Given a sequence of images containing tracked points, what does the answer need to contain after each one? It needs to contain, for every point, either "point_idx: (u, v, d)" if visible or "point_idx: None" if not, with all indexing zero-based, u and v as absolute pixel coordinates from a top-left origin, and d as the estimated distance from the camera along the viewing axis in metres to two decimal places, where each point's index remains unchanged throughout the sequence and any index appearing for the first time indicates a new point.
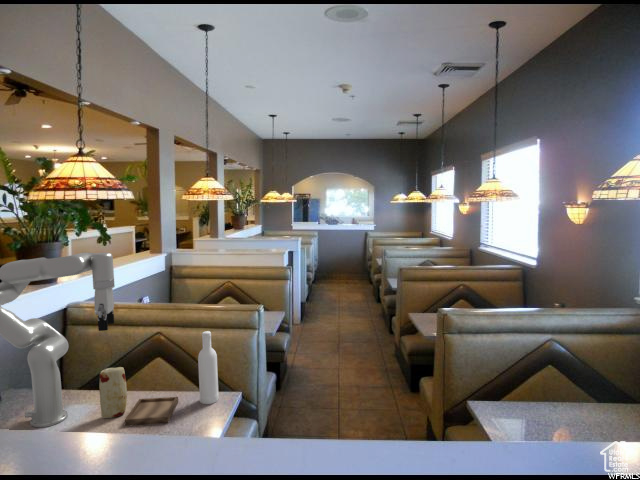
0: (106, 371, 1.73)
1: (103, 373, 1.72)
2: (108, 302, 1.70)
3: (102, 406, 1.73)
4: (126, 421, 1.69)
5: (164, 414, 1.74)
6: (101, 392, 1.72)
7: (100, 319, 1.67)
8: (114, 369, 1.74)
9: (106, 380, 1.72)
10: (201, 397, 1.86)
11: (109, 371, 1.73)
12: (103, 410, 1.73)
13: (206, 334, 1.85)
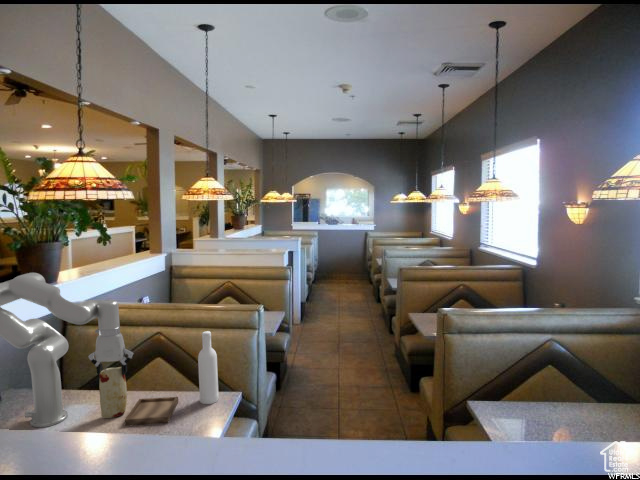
0: (106, 371, 1.73)
1: (103, 373, 1.72)
2: None
3: (102, 406, 1.73)
4: (126, 421, 1.69)
5: (164, 414, 1.74)
6: (101, 392, 1.72)
7: None
8: (114, 369, 1.74)
9: (106, 380, 1.72)
10: (201, 397, 1.86)
11: (109, 371, 1.73)
12: (103, 410, 1.73)
13: (206, 334, 1.85)
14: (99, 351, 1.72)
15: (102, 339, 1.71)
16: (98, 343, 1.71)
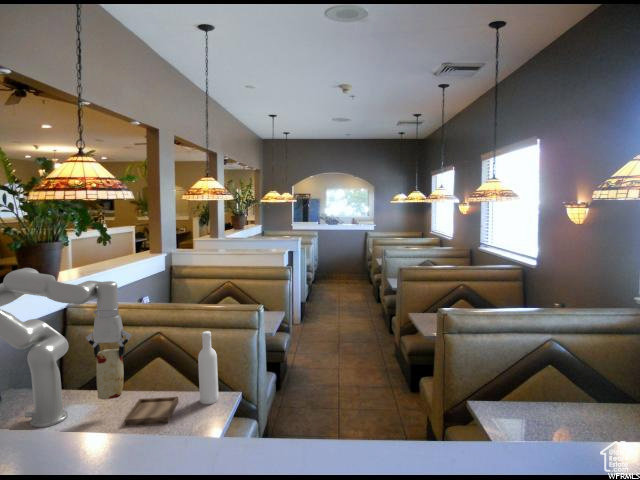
0: (103, 352, 1.72)
1: (100, 354, 1.71)
2: None
3: (98, 387, 1.72)
4: (126, 421, 1.69)
5: (164, 414, 1.74)
6: (98, 373, 1.72)
7: (125, 343, 1.75)
8: (111, 350, 1.73)
9: (103, 361, 1.71)
10: (201, 397, 1.86)
11: (107, 352, 1.72)
12: (99, 391, 1.72)
13: (206, 334, 1.85)
14: (96, 332, 1.71)
15: (100, 320, 1.71)
16: (96, 324, 1.71)
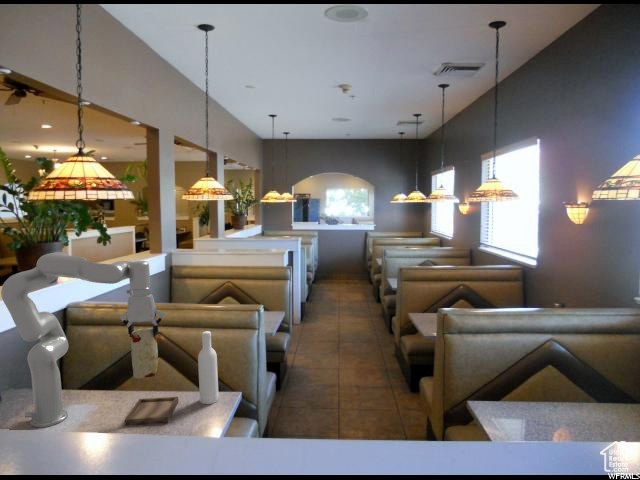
0: (138, 331, 1.73)
1: (135, 333, 1.72)
2: None
3: (134, 366, 1.73)
4: (126, 421, 1.69)
5: (164, 414, 1.74)
6: (133, 352, 1.72)
7: (158, 322, 1.75)
8: (145, 329, 1.74)
9: (138, 340, 1.72)
10: (201, 397, 1.86)
11: (141, 331, 1.73)
12: (135, 370, 1.73)
13: (206, 334, 1.85)
14: (130, 311, 1.71)
15: (134, 299, 1.71)
16: (130, 303, 1.71)
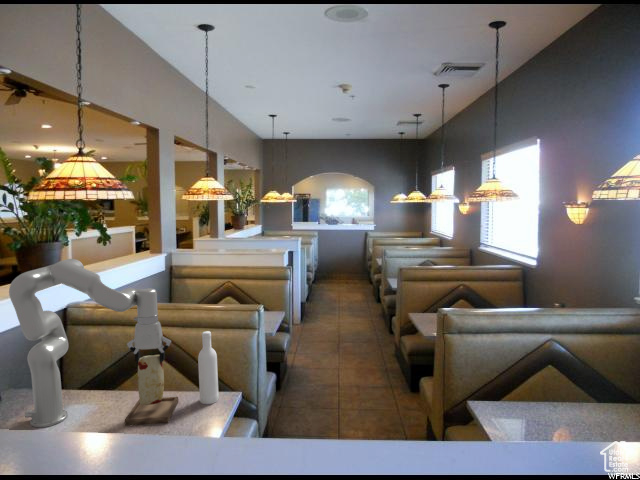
0: (144, 358, 1.74)
1: (142, 360, 1.73)
2: None
3: (140, 393, 1.74)
4: (126, 421, 1.69)
5: (164, 414, 1.74)
6: (140, 379, 1.73)
7: None
8: (152, 356, 1.75)
9: (145, 367, 1.73)
10: (201, 397, 1.86)
11: (148, 358, 1.74)
12: (141, 397, 1.74)
13: (206, 334, 1.85)
14: (137, 338, 1.73)
15: (141, 327, 1.72)
16: (137, 331, 1.72)
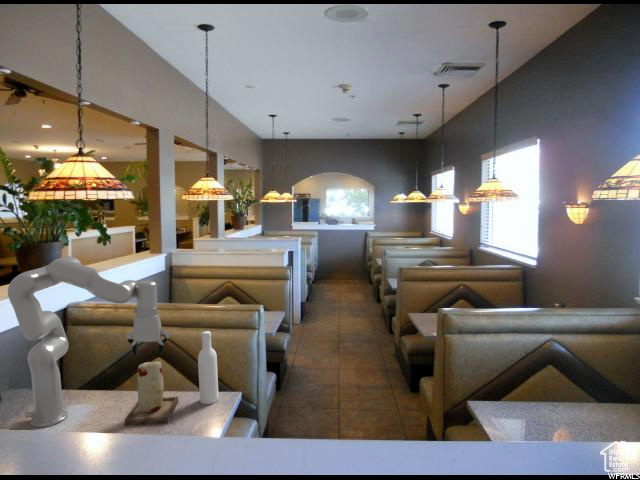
0: (144, 365, 1.74)
1: (142, 367, 1.73)
2: None
3: (140, 400, 1.74)
4: (126, 421, 1.69)
5: (164, 414, 1.74)
6: (139, 386, 1.74)
7: (164, 342, 1.76)
8: (152, 363, 1.75)
9: (145, 374, 1.73)
10: (201, 397, 1.86)
11: (148, 365, 1.74)
12: (141, 404, 1.74)
13: (206, 334, 1.85)
14: (136, 331, 1.72)
15: (140, 319, 1.72)
16: (136, 323, 1.72)
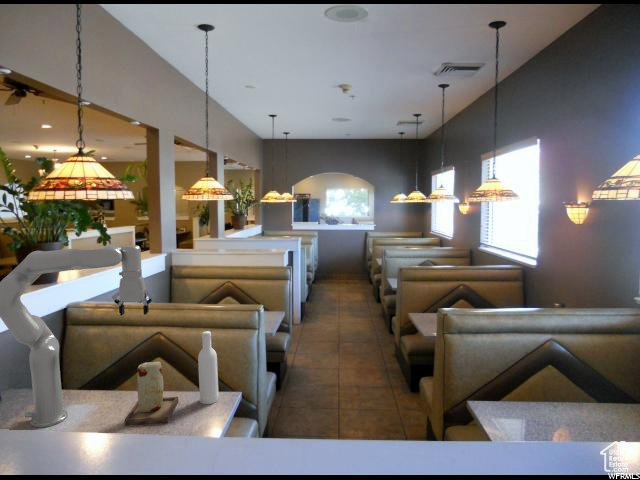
0: (144, 365, 1.74)
1: (141, 367, 1.73)
2: None
3: (140, 400, 1.74)
4: (126, 421, 1.69)
5: (164, 414, 1.74)
6: (139, 386, 1.74)
7: None
8: (152, 363, 1.75)
9: (144, 374, 1.73)
10: (201, 397, 1.86)
11: (147, 365, 1.74)
12: (141, 404, 1.74)
13: (206, 334, 1.85)
14: (122, 292, 1.83)
15: (125, 280, 1.83)
16: (121, 284, 1.83)
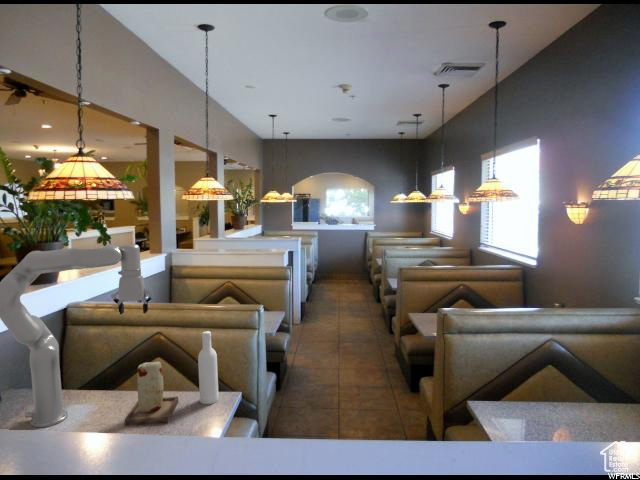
0: (144, 365, 1.74)
1: (141, 367, 1.73)
2: None
3: (140, 400, 1.74)
4: (126, 421, 1.69)
5: (164, 414, 1.74)
6: (139, 386, 1.74)
7: (148, 301, 1.88)
8: (152, 363, 1.75)
9: (144, 374, 1.73)
10: (201, 397, 1.86)
11: (147, 365, 1.74)
12: (141, 404, 1.74)
13: (206, 334, 1.85)
14: (121, 291, 1.84)
15: (125, 279, 1.84)
16: (121, 283, 1.84)
